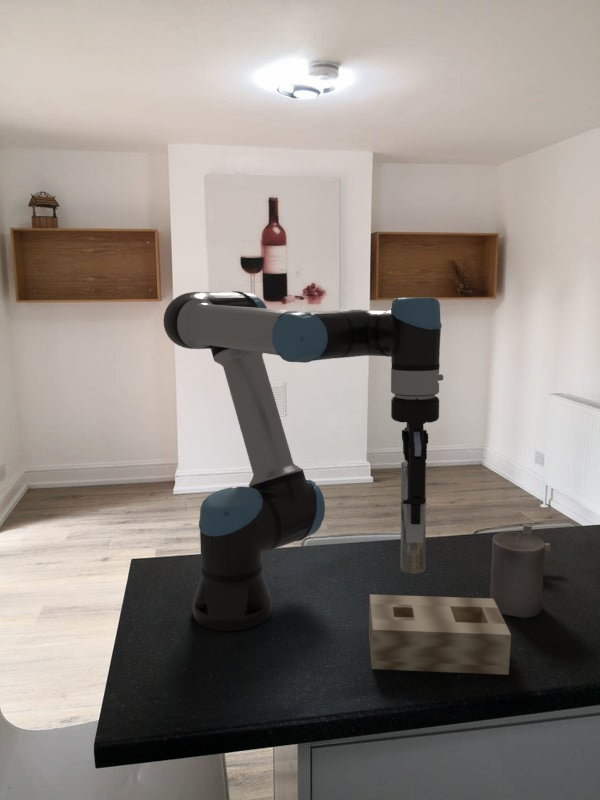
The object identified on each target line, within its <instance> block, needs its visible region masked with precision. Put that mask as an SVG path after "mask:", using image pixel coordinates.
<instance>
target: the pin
mask: <svg viewBox="0 0 600 800" xmlns="http://www.w3.org/2000/svg"><path fill="white" fill-rule="evenodd" d="M400 465H401V466H400V469H401V471H400V473H401V474H400V570H401V571H402V572H404V573H407V574H414V575H415V574H416V575H417V574H422V573H424V572H425V571H426V532H427V531H426V529H427V528H426V523H427V520H426V519H427V515H426V514H427V501H426V502H425V504H424V535H423V543H412V542H406V504H403V500H407V498H408V462H407V460H405V459H404V460H402V461H401V462H400ZM425 498H426V499H427V467H426V468H425Z"/></svg>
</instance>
